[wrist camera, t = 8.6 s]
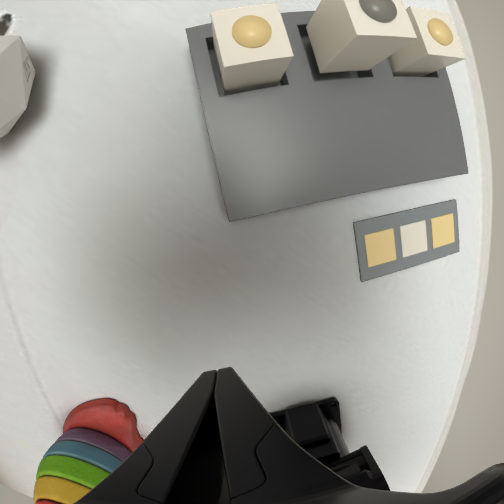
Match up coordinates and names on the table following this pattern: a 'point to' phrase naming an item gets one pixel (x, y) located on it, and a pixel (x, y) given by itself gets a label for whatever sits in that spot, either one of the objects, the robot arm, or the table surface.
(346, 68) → the middle key
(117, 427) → the stacking bear
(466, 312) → the table surface
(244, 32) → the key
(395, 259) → the card
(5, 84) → the die
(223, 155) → the console
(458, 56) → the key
